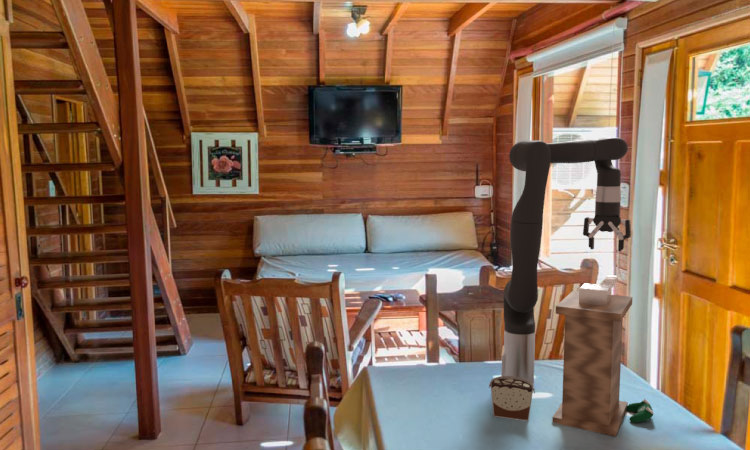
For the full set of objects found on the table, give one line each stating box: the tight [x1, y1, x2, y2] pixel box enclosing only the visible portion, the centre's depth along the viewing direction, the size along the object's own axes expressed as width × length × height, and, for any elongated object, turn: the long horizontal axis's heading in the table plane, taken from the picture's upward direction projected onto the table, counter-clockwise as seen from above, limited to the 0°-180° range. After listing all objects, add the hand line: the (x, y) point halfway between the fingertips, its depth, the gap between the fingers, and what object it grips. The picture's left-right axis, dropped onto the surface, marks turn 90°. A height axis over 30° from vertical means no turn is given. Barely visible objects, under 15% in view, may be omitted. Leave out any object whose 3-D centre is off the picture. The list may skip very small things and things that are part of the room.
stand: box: [551, 290, 633, 437], centre depth 166 cm, size 16×20×32 cm
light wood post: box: [578, 274, 618, 306], centre depth 174 cm, size 7×32×4 cm, turn 150°
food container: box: [488, 376, 536, 422], centre depth 168 cm, size 12×6×10 cm, turn 71°
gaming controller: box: [626, 398, 654, 424], centre depth 166 cm, size 9×4×6 cm
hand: (605, 250), depth 197 cm, fingers open, 8 cm apart
